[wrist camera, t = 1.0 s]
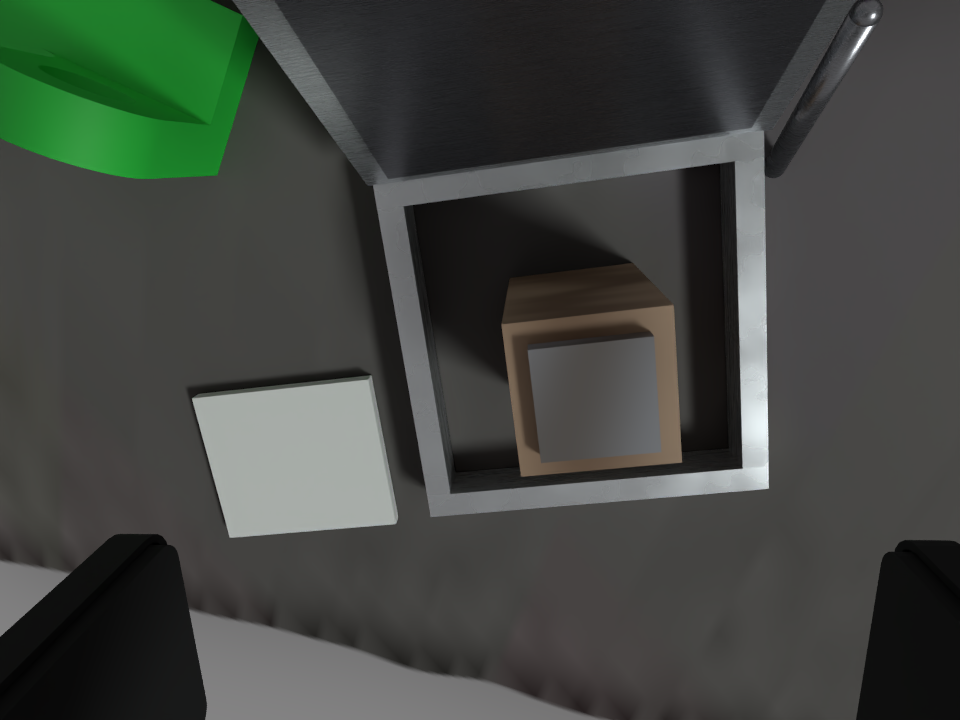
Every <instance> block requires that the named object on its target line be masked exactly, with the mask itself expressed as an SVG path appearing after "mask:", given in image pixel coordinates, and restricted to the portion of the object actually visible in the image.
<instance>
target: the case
mask: <svg viewBox="0 0 960 720" xmlns="http://www.w3.org/2000/svg"><path fill="white" fill-rule="evenodd" d="M855 1H856V0H233V2H234V3H235V4H236V6H237V7H238V9H239V10H240V11H241V13H242V14H243V15H244V17H245V18H246V20H247V21H248V22H249V24H250V25H251V26H252V28H253V29H254V31H255V32H256V33H257V35H258V36H259V37H260V39H261V40H262V42H263V43H264V44H265V46H266V47H267V48H268V50H269V51H270V53H271V54H272V55H273V57H274V58H275V59H276V61H277V62H278V63H279V65H280V66H281V68H282V69H283V70H284V72H285V73H286V74H287V76H288V77H289V79H290V80H291V81H292V83H293V84H294V85H295V87H296V88H297V90H298V91H299V92H300V94H301V95H302V96H303V98H304V99H305V101H306V102H307V103H308V105H309V106H310V107H311V109H312V110H313V112H314V113H315V114H316V116H317V117H318V118H319V120H320V121H321V123H322V124H323V125H324V127H325V128H326V129H327V131H328V132H329V133H330V135H331V136H332V138H333V139H334V140H335V142H336V143H337V144H338V146H339V147H340V149H341V150H342V151H343V153H344V154H345V155H346V157H347V158H348V160H349V161H350V162H351V164H352V165H353V166H354V168H355V169H356V171H357V172H358V173H359V175H360V176H361V177H362V179H363V180H364V182H365V183H366V184H367V186H371V185H373V188H374V194H375V199H376V205H377V211H378V217H379V222H380V228H381V234H382V240H383V245H384V251H385V257H386V262H387V268H388V274H389V280H390V285H391V291H392V297H393V303H394V308H395V314H396V320H397V325H398V331H399V337H400V343H401V348H402V354H403V360H404V365H405V371H406V377H407V383H408V388H409V394H410V400H411V406H412V411H413V417H414V423H415V428H416V434H417V440H418V446H419V451H420V457H421V463H422V468H423V474H424V480H425V486H426V491H427V497H428V503H429V509H430V514H431V517H436V516H448V515H460V514H472V513H484V512H496V511H508V510H520V509H532V508H544V507H556V506H568V505H580V504H592V503H604V502H616V501H628V500H640V499H652V498H664V497H676V496H688V495H700V494H711V493H723V492H735V491H747V490H759V489H769V477H768V401H767V325H766V250H765V175H766V176H767V177H769V178H777V177H779V176H781V175H782V174H783V173H784V171H785V170H786V168H787V166H788V165H789V163H790V162H791V160H792V159H793V157H794V155H795V154H796V152H797V151H798V149H799V147H800V146H801V144H802V143H803V141H804V140H805V138H806V136H807V135H808V133H809V132H810V130H811V128H812V127H813V125H814V124H815V122H816V121H817V119H818V117H819V116H820V114H821V113H822V111H823V109H824V108H825V106H826V105H827V103H828V101H829V100H830V98H831V97H832V95H833V94H834V92H835V90H836V89H837V87H838V86H839V84H840V82H841V81H842V79H843V78H844V76H845V75H846V73H847V71H848V70H849V68H850V67H851V65H852V63H853V62H854V60H855V59H856V57H857V56H858V54H859V52H860V51H861V49H862V48H863V46H864V44H865V43H866V41H867V40H868V38H869V36H870V35H871V33H872V32H873V30H874V29H875V27H876V25H877V24H878V22H879V21H880V19H881V17H882V14H883V5H882V3H881V2H880V0H858V1H857V2H855ZM847 13H848V14H847ZM846 15H847V16H846ZM845 16H846V17H845ZM844 18H845V19H844ZM843 19H844V21H843ZM842 21H843V23H842ZM841 23H842V25H841V26H840V24H841ZM839 26H840V28H839V30H838V32H837V34H836V35H835V37H834V39H833V41H832V43H831V44H830V46H829V48H828V50H827V51H826V53H825V55H824V57H823V59H822V60H821V62H820V64H819V66H818V68H817V69H816V71H815V73H814V75H813V77H812V78H811V80H810V82H809V84H808V86H807V87H806V89H805V91H804V93H803V94H802V96H801V98H800V100H799V102H798V103H797V105H796V107H795V109H794V111H793V112H792V114H791V116H790V118H789V120H788V121H787V123H786V125H785V127H784V129H783V130H782V132H781V134H780V136H779V137H778V139H777V141H776V143H775V145H774V146H773V148H772V150H771V152H770V154H769V155H768V157H767V159H766V161H765V163H764V130H771V129H773V127H774V126H775V124H776V123H777V121H778V120H779V118H780V117H781V115H782V114H783V112H784V110H785V109H786V107H787V106H788V104H789V103H790V101H791V100H792V98H793V97H794V95H795V94H796V92H797V90H798V89H799V87H800V86H801V84H802V83H803V81H804V80H805V78H806V77H807V75H808V73H809V72H810V70H811V69H812V67H813V66H814V64H815V63H816V61H817V60H818V58H819V57H820V55H821V53H822V52H823V50H824V49H825V47H826V46H827V44H828V43H829V41H830V40H831V38H832V36H833V35H834V33H835V32H836V30H837V29H838V27H839ZM718 163H720V192H721V224H722V256H723V287H724V319H725V351H726V383H727V414H728V446H729V448H723V449H712V450H701V451H690V452H682V463H671V464H660V465H648V466H637V467H626V468H615V469H603V470H592V471H581V472H569V473H558V474H547V475H536V476H524V477H521V472H520V467H513V468H502V469H491V470H480V471H469V472H457V473H456V472H455V466H454V460H453V454H452V447H451V441H450V435H449V428H448V422H447V416H446V410H445V403H444V397H443V391H442V385H441V378H440V372H439V366H438V360H437V353H436V347H435V341H434V334H433V328H432V322H431V316H430V309H429V303H428V297H427V291H426V284H425V278H424V272H423V266H422V259H421V253H420V247H419V240H418V234H417V228H416V222H415V215H414V209H413V205H416V204H423V203H431V202H438V201H445V200H453V199H460V198H468V197H475V196H482V195H490V194H497V193H504V192H512V191H519V190H526V189H534V188H541V187H549V186H556V185H563V184H571V183H578V182H585V181H593V180H600V179H607V178H615V177H622V176H630V175H637V174H644V173H652V172H659V171H666V170H674V169H681V168H688V167H696V166H703V165H711V164H718Z"/></svg>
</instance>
